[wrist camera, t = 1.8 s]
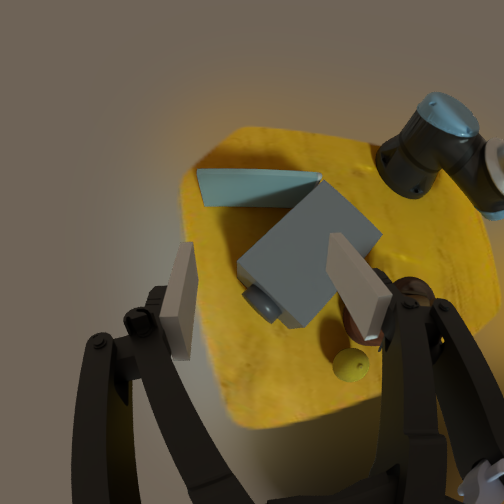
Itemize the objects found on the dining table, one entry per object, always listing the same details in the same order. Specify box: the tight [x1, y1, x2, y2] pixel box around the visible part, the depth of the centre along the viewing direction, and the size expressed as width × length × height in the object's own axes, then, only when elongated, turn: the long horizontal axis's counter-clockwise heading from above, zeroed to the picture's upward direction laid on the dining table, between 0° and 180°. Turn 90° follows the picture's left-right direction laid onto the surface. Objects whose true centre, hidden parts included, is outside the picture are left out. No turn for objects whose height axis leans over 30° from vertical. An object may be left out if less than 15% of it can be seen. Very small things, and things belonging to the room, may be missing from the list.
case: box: [237, 180, 383, 329], centre depth 41 cm, size 20×12×11 cm, turn 135°
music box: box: [343, 277, 438, 346], centre depth 35 cm, size 15×11×20 cm
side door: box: [197, 169, 322, 208], centre depth 44 cm, size 19×2×11 cm, turn 90°
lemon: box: [333, 348, 369, 382], centre depth 38 cm, size 6×6×8 cm
